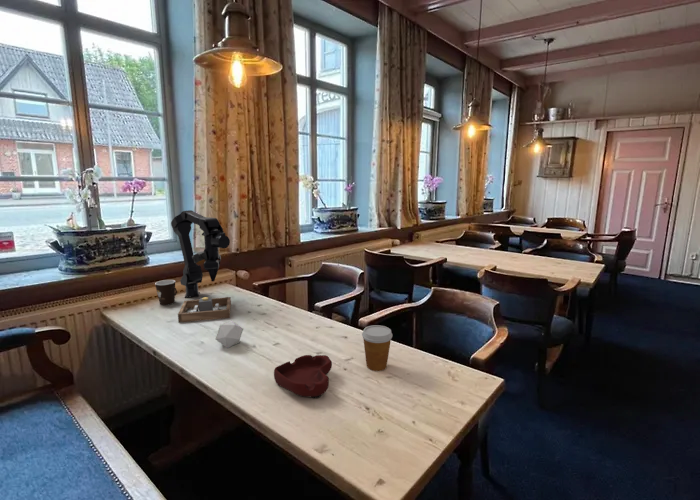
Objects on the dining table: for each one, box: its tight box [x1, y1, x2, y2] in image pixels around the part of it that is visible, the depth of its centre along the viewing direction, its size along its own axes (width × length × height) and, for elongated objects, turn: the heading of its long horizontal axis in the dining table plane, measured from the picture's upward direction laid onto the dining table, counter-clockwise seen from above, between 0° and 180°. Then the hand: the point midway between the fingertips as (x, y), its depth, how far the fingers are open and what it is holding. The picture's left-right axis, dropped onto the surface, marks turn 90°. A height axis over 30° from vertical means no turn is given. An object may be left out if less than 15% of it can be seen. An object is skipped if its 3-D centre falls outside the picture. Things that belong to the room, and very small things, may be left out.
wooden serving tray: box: [177, 296, 232, 323], centre depth 166 cm, size 18×20×4 cm
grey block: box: [198, 296, 214, 312], centre depth 166 cm, size 5×5×7 cm
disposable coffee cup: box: [361, 324, 393, 372], centre depth 118 cm, size 10×10×12 cm
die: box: [215, 319, 244, 349], centre depth 134 cm, size 8×9×10 cm
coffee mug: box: [154, 279, 178, 306], centre depth 177 cm, size 12×9×10 cm
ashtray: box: [273, 354, 333, 399], centre depth 109 cm, size 18×16×5 cm
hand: (213, 278), depth 176 cm, fingers open, 9 cm apart
